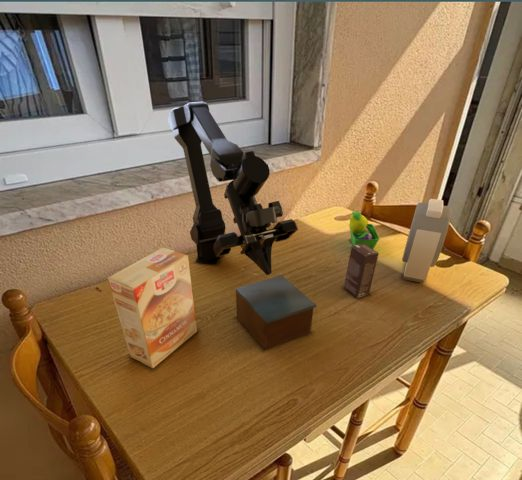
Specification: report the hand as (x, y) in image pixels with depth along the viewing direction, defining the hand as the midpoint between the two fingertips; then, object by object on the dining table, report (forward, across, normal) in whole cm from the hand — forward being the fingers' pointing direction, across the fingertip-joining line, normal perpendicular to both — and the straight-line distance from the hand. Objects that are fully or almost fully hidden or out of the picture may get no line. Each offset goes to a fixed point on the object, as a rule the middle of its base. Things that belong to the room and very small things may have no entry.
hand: (269, 274), depth 83 cm
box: (+9, +27, +9) cm, 30 cm away
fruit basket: (-5, +45, +23) cm, 51 cm away
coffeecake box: (+7, -24, +12) cm, 28 cm away
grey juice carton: (+9, +49, +9) cm, 50 cm away
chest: (+10, 0, +7) cm, 13 cm away
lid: (+5, 0, +2) cm, 6 cm away
